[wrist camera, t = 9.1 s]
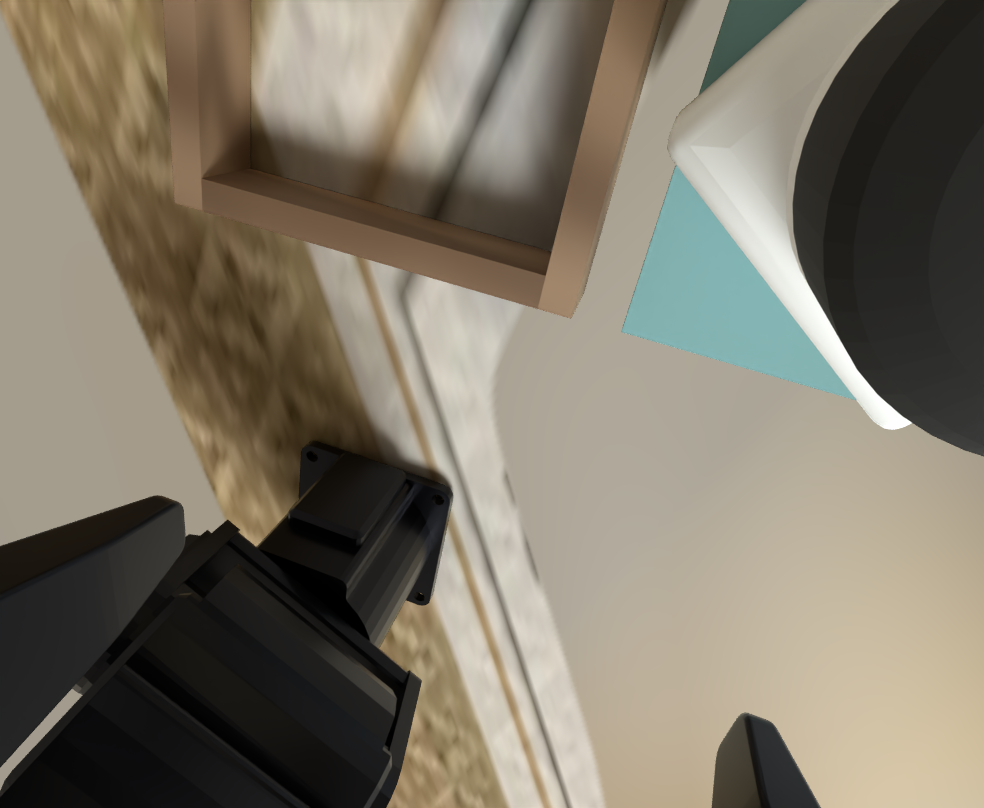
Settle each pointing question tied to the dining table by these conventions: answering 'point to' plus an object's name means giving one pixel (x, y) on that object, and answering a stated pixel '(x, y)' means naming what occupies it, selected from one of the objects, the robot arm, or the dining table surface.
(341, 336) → the dining table surface
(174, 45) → the offcut rack
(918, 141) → the medicine bottle
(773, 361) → the teal mat
